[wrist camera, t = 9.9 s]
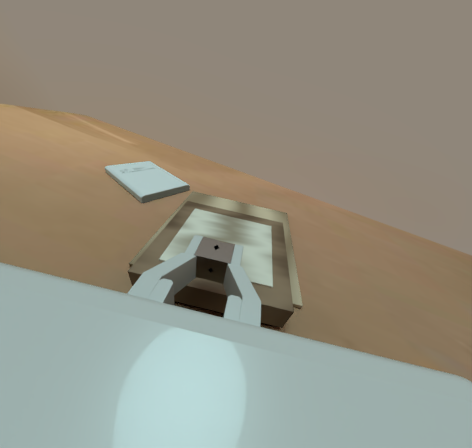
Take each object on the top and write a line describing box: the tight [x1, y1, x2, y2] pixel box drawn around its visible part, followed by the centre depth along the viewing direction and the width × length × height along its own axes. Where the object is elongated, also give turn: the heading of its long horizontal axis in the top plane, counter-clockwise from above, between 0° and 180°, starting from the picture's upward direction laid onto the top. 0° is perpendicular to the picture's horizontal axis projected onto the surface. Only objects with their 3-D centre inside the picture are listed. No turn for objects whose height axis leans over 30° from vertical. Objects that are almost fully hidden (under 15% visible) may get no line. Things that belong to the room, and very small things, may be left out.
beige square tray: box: [129, 192, 303, 308], centre depth 22 cm, size 16×16×1 cm
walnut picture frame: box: [128, 201, 294, 328], centre depth 17 cm, size 12×3×11 cm
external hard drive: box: [105, 161, 190, 203], centre depth 29 cm, size 2×8×12 cm
